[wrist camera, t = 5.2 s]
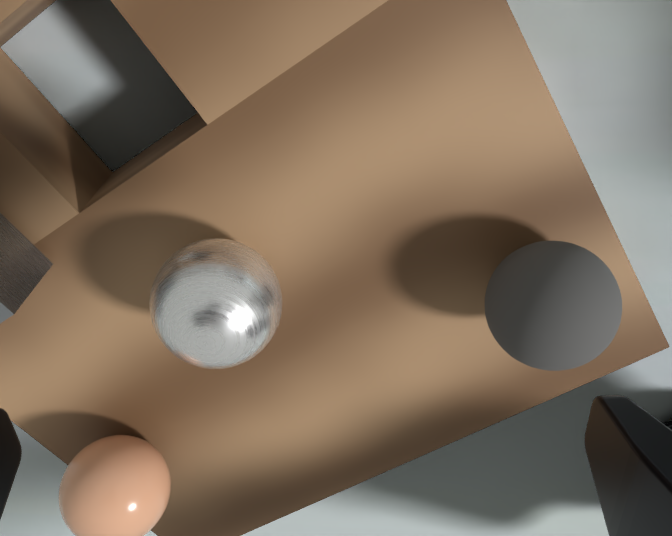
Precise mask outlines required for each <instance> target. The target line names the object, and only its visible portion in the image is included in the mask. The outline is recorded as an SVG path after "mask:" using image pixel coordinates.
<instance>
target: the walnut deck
mask: <svg viewBox="0 0 672 536" xmlns="http://www.w3.org/2000/svg"><path fill="white" fill-rule="evenodd" d="M55 1H56V0H0V47H1V46H2V45H3V44H4V43H6V42H7V41H8V40H9V39H10V38H12V37H13V36H14V35H15V34H16V33H18V32H19V31H20V30H21V29H22V28H23V27H25V26H26V25H27V24H28V23H29V22H31V21H32V20H33V19H34V18H35V17H37V16H38V15H39V14H40V13H41V12H43V11H44V10H45V9H46V8H47V7H49V6H50V5H51V4H52V3H53V2H55ZM111 2H112V3H113V4H114V5H115V7H116V8H117V9H118V11H119V12H120V13H121V14H122V16H123V17H124V18H125V20H126V21H127V22H128V23H129V25H130V26H131V27H132V29H133V30H134V31H135V32H136V34H137V35H138V36H139V38H140V39H141V40H142V41H143V43H144V44H145V45H146V47H147V48H148V49H149V50H150V52H151V53H152V54H153V56H154V57H155V58H156V59H157V61H158V62H159V63H160V64H161V66H162V67H163V68H164V70H165V71H166V72H167V73H168V75H169V76H170V77H171V79H172V80H173V81H174V82H175V84H176V85H177V86H178V88H179V89H180V90H181V91H182V93H183V94H184V95H185V97H186V98H187V99H188V100H189V102H190V103H191V104H192V106H193V107H194V108H195V109H196V111H197V112H198V113H197V114H195V115H194V116H192V117H191V118H190V119H188V120H187V121H185V122H184V123H182V124H181V125H180V126H178V127H177V128H175V129H174V130H172V131H171V132H170V133H168V134H167V135H165V136H164V137H162V138H161V139H160V140H158V141H157V142H155V143H154V144H152V145H151V146H150V147H148V148H147V149H145V150H144V151H142V152H141V153H140V154H138V155H137V156H135V157H134V158H132V159H131V160H130V161H128V162H127V163H125V164H124V165H122V166H121V167H120V168H118V169H117V170H115V171H114V172H112V171H111V170H110V169H109V168H108V167H107V166H106V165H105V164H104V162H103V161H102V160H101V159H100V158H99V157H98V156H97V155H96V154H95V152H94V151H93V150H92V149H91V148H90V147H89V146H88V145H87V144H86V142H85V141H84V140H83V139H82V138H81V137H80V136H79V135H78V134H77V132H76V131H75V130H74V129H73V128H72V127H71V126H70V125H69V124H68V122H67V121H66V120H65V119H64V118H63V117H62V116H61V115H60V113H59V112H58V111H57V110H56V109H55V108H54V107H53V106H52V105H51V103H50V102H49V101H48V100H47V99H46V98H45V97H44V96H43V95H42V93H41V92H40V91H39V90H38V89H37V88H36V87H35V86H34V85H33V83H32V82H31V81H30V80H29V79H28V78H27V77H26V76H25V75H24V73H23V72H22V71H21V70H20V69H19V68H18V67H17V66H16V65H15V63H14V62H13V61H12V60H11V59H10V58H9V57H8V56H7V55H6V53H5V52H4V51H3V50H2V49H1V48H0V213H1V214H2V215H3V216H4V217H5V218H6V219H7V220H8V221H10V222H11V223H12V224H13V225H14V226H15V227H16V228H17V229H18V230H19V231H20V232H21V233H22V234H23V235H24V236H25V237H26V238H27V239H28V240H29V241H30V242H31V243H32V244H33V245H34V246H35V247H36V248H38V249H39V250H40V251H41V252H42V253H43V254H44V255H45V256H46V257H47V258H48V259H49V260H50V261H51V262H52V263H53V265H52V266H51V268H50V269H49V270H48V271H47V273H46V274H45V275H44V277H43V278H42V279H41V280H40V282H39V283H38V284H37V286H36V287H35V288H34V289H33V291H32V292H31V293H30V295H29V296H28V297H27V298H26V300H25V301H24V302H23V304H22V305H21V306H20V307H19V309H18V310H17V311H16V313H15V314H14V315H12V316H11V317H9V318H8V319H6V320H5V321H3V322H2V323H0V408H2V409H4V410H5V411H6V412H7V413H8V415H9V418H10V420H11V421H12V422H14V423H15V424H16V425H17V426H19V427H20V428H21V429H23V430H24V431H25V432H26V433H28V434H29V435H30V436H32V437H33V438H34V439H35V440H37V441H38V442H39V443H40V444H42V445H43V446H44V447H46V448H47V449H48V450H49V451H51V452H52V453H53V454H54V455H56V456H57V457H58V458H60V459H61V460H62V461H63V462H65V463H66V464H67V465H69V463H70V462H71V461H72V459H73V458H74V457H75V456H76V455H77V454H78V453H79V452H80V451H81V450H82V449H83V448H85V447H86V446H88V445H89V444H91V443H92V442H94V441H96V440H99V439H101V438H104V437H108V436H113V435H130V436H134V437H138V438H141V439H143V440H145V441H147V442H149V443H150V444H152V445H153V446H154V447H155V448H156V449H157V450H158V451H159V452H160V453H161V455H162V456H163V458H164V459H165V461H166V463H167V466H168V469H169V472H170V478H171V492H170V497H169V501H168V504H167V507H166V509H165V511H164V513H163V515H162V517H161V518H160V520H159V521H158V522H157V524H156V525H155V526H154V527H153V528H152V529H151V531H152V532H154V533H155V534H156V535H158V536H240V535H243V534H245V533H247V532H250V531H252V530H254V529H256V528H259V527H261V526H263V525H265V524H268V523H270V522H272V521H275V520H277V519H279V518H281V517H284V516H286V515H288V514H290V513H293V512H295V511H297V510H300V509H302V508H304V507H306V506H309V505H311V504H313V503H316V502H318V501H320V500H322V499H325V498H327V497H329V496H331V495H334V494H336V493H338V492H341V491H343V490H345V489H347V488H350V487H352V486H354V485H356V484H359V483H361V482H363V481H366V480H368V479H370V478H372V477H375V476H377V475H379V474H382V473H384V472H386V471H388V470H391V469H393V468H395V467H397V466H400V465H402V464H404V463H407V462H409V461H411V460H413V459H416V458H418V457H420V456H423V455H425V454H427V453H429V452H432V451H434V450H436V449H438V448H441V447H443V446H445V445H448V444H450V443H452V442H454V441H457V440H459V439H461V438H463V437H466V436H468V435H470V434H473V433H475V432H477V431H479V430H482V429H484V428H486V427H489V426H491V425H493V424H495V423H498V422H500V421H502V420H504V419H507V418H509V417H511V416H514V415H516V414H518V413H520V412H523V411H525V410H527V409H529V408H532V407H534V406H536V405H539V404H541V403H543V402H545V401H548V400H550V399H552V398H555V397H557V396H559V395H561V394H564V393H566V392H568V391H570V390H573V389H575V388H577V387H580V386H582V385H584V384H586V383H589V382H591V381H593V380H596V379H598V378H600V377H602V376H605V375H607V374H609V373H611V372H614V371H616V370H618V369H621V368H623V367H625V366H627V365H630V364H632V363H634V362H636V361H639V360H641V359H643V358H646V357H648V356H650V355H652V354H655V353H657V352H659V351H662V350H664V349H666V348H668V347H669V345H668V342H667V340H666V338H665V336H664V334H663V332H662V330H661V328H660V325H659V323H658V321H657V319H656V317H655V315H654V313H653V311H652V308H651V306H650V304H649V302H648V300H647V298H646V296H645V294H644V292H643V289H642V287H641V285H640V283H639V281H638V279H637V277H636V275H635V272H634V270H633V268H632V266H631V264H630V262H629V260H628V258H627V256H626V253H625V251H624V249H623V247H622V245H621V243H620V241H619V239H618V236H617V234H616V232H615V230H614V228H613V226H612V224H611V222H610V219H609V217H608V215H607V213H606V211H605V209H604V207H603V205H602V203H601V200H600V198H599V196H598V194H597V192H596V190H595V188H594V186H593V183H592V181H591V179H590V177H589V175H588V173H587V171H586V169H585V166H584V164H583V162H582V160H581V158H580V156H579V154H578V152H577V150H576V147H575V145H574V143H573V141H572V139H571V137H570V135H569V133H568V130H567V128H566V126H565V124H564V122H563V120H562V118H561V116H560V113H559V111H558V109H557V107H556V105H555V103H554V101H553V99H552V97H551V94H550V92H549V90H548V88H547V86H546V84H545V82H544V80H543V77H542V75H541V73H540V71H539V69H538V67H537V65H536V63H535V60H534V58H533V56H532V54H531V52H530V50H529V48H528V46H527V44H526V41H525V39H524V37H523V35H522V33H521V31H520V29H519V27H518V24H517V22H516V20H515V18H514V16H513V14H512V12H511V10H510V8H509V5H508V3H507V1H506V0H111ZM212 238H222V239H229V240H234V241H237V242H240V243H243V244H245V245H247V246H249V247H250V248H252V249H254V250H255V251H256V252H258V253H259V254H260V255H261V256H262V257H263V258H264V259H265V260H266V261H267V262H268V263H269V265H270V266H271V267H272V269H273V271H274V273H275V274H276V276H277V279H278V281H279V284H280V288H281V293H282V313H281V318H280V321H279V325H278V327H277V329H276V332H275V334H274V336H273V337H272V339H271V340H270V342H269V343H268V344H267V345H266V346H265V348H264V349H263V350H262V351H261V352H259V353H258V354H257V355H256V356H254V357H253V358H251V359H250V360H248V361H246V362H244V363H242V364H239V365H236V366H233V367H229V368H223V369H208V368H202V367H197V366H194V365H191V364H189V363H187V362H184V361H183V360H181V359H179V358H178V357H176V356H175V355H173V354H172V353H171V352H170V351H169V350H168V349H167V348H166V347H165V346H164V344H163V343H162V342H161V340H160V339H159V337H158V336H157V334H156V332H155V329H154V327H153V324H152V321H151V316H150V308H149V301H150V293H151V288H152V285H153V282H154V279H155V277H156V275H157V273H158V271H159V270H160V268H161V267H162V265H163V264H164V263H165V262H166V261H167V260H168V259H169V258H170V257H171V256H172V255H173V254H174V253H175V252H176V251H178V250H179V249H181V248H183V247H185V246H187V245H188V244H191V243H193V242H196V241H200V240H204V239H212ZM540 241H563V242H569V243H573V244H576V245H578V246H581V247H583V248H585V249H587V250H589V251H590V252H592V253H593V254H595V255H596V256H597V257H599V258H600V259H601V260H602V261H603V262H604V263H605V264H606V265H607V267H608V268H609V269H610V270H611V272H612V274H613V275H614V277H615V279H616V281H617V283H618V286H619V289H620V292H621V297H622V316H621V322H620V325H619V328H618V330H617V333H616V335H615V337H614V339H613V340H612V342H611V343H610V344H609V346H608V347H607V348H606V349H605V350H604V351H603V352H602V353H601V354H600V355H599V356H597V357H596V358H595V359H593V360H592V361H590V362H588V363H586V364H584V365H582V366H579V367H576V368H573V369H568V370H560V371H549V370H541V369H537V368H533V367H530V366H528V365H525V364H523V363H521V362H519V361H518V360H516V359H514V358H513V357H511V356H510V355H509V354H508V353H507V352H506V351H505V350H503V349H502V348H501V346H500V345H499V344H498V342H497V341H496V340H495V339H494V337H493V335H492V333H491V331H490V329H489V326H488V323H487V320H486V316H485V293H486V289H487V285H488V282H489V280H490V278H491V276H492V274H493V272H494V271H495V269H496V268H497V266H498V265H499V264H500V263H501V262H502V261H503V260H504V259H505V258H506V257H507V256H508V255H510V254H511V253H512V252H514V251H516V250H517V249H519V248H521V247H523V246H526V245H529V244H532V243H535V242H540Z"/></svg>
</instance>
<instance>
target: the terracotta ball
mask: <svg viewBox="0 0 672 536" xmlns="http://www.w3.org/2000/svg"><path fill="white" fill-rule="evenodd" d="M170 492H171V478H170V472H169V469H168V466H167V463H166V461H165V459H164V458H163V456H162V455H161V453H160V452H159V451H158V450H157V449H156V448H155V447H154V446H153V445H152V444H150V443H149V442H147V441H145V440H143V439H141V438H138V437H134V436H130V435H113V436H108V437H104V438H101V439H99V440H96V441H94V442H92V443H91V444H89V445H88V446H86V447H85V448H83V449H82V450H81V451H80V452H79V453H78V454H77V455H76V456H75V457H74V458H73V459H72V461H71V462H70V463H69V465H68V467H67V468H66V470H65V472H64V474H63V477H62V480H61V483H60V488H59V507H60V511H61V514H62V517H63V520H64V522H65V523H66V525H67V527H68V528H69V529H70V530H71V532H72V533H73V534H74V535H75V536H144V535H145V534H146V533H148V532H149V531H150V530H151V529H152V528H153V527H154V526H155V525H156V524H157V522H158V521H159V520H160V518H161V517H162V515H163V513H164V511H165V509H166V507H167V504H168V501H169V497H170Z"/></svg>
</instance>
